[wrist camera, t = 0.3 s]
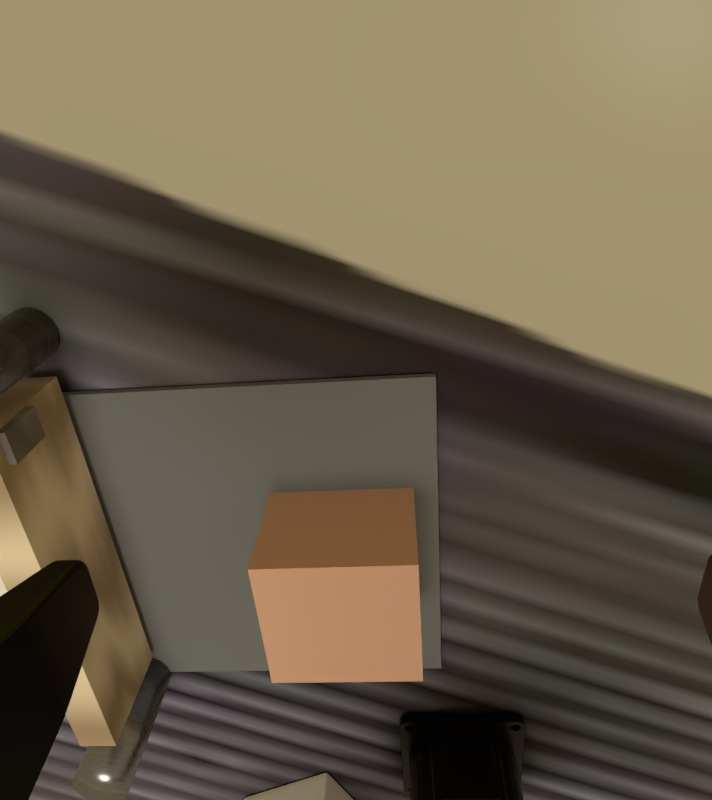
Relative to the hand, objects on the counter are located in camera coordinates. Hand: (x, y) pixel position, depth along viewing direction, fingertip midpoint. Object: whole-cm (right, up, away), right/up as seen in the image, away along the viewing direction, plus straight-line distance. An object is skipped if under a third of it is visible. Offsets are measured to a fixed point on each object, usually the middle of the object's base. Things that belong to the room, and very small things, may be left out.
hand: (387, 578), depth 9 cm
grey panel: (-12, -4, +19) cm, 22 cm away
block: (-1, -4, +18) cm, 18 cm away
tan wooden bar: (-12, -3, +17) cm, 21 cm away
